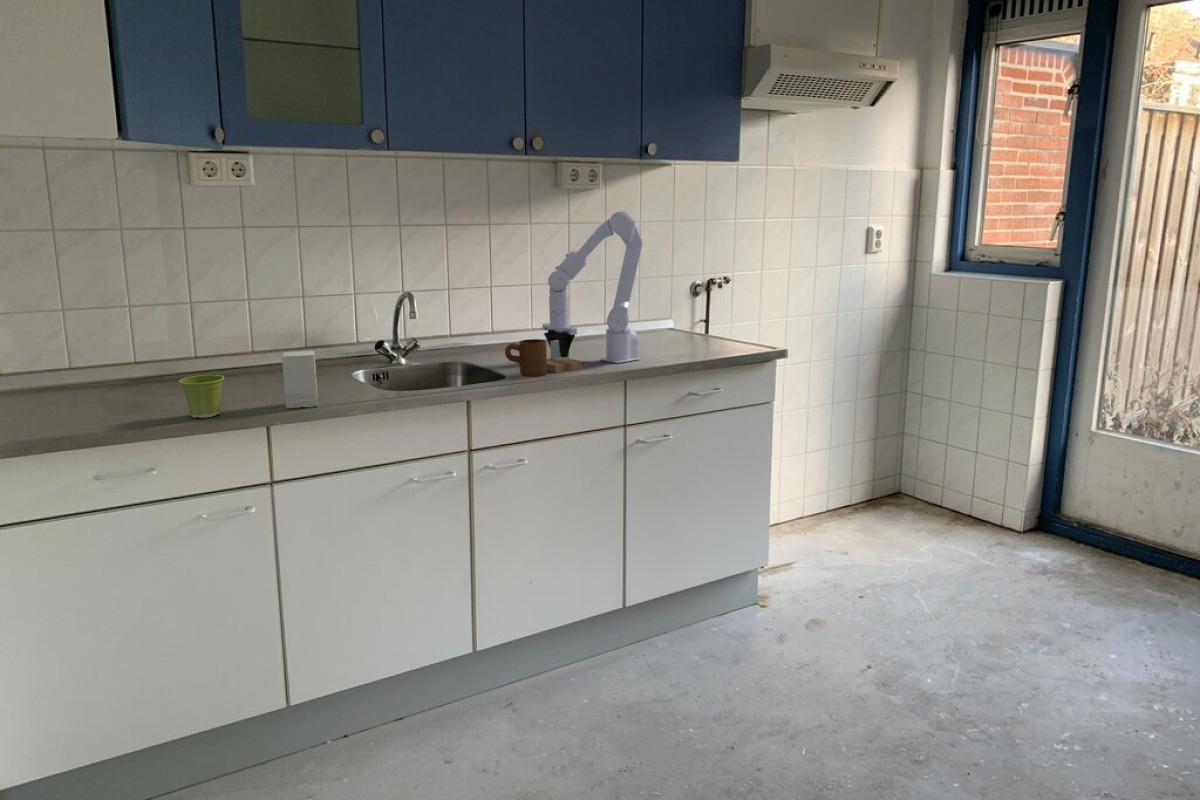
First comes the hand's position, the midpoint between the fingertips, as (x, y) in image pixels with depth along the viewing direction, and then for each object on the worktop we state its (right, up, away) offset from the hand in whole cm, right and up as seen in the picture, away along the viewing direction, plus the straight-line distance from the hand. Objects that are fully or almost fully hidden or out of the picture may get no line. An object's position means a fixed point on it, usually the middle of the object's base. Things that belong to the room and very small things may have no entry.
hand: (559, 356), depth 271 cm
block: (0, -1, 0) cm, 1 cm away
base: (0, -4, -12) cm, 13 cm away
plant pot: (-78, -17, -67) cm, 104 cm away
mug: (-8, -7, -22) cm, 24 cm away
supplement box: (-59, -15, -57) cm, 83 cm away
